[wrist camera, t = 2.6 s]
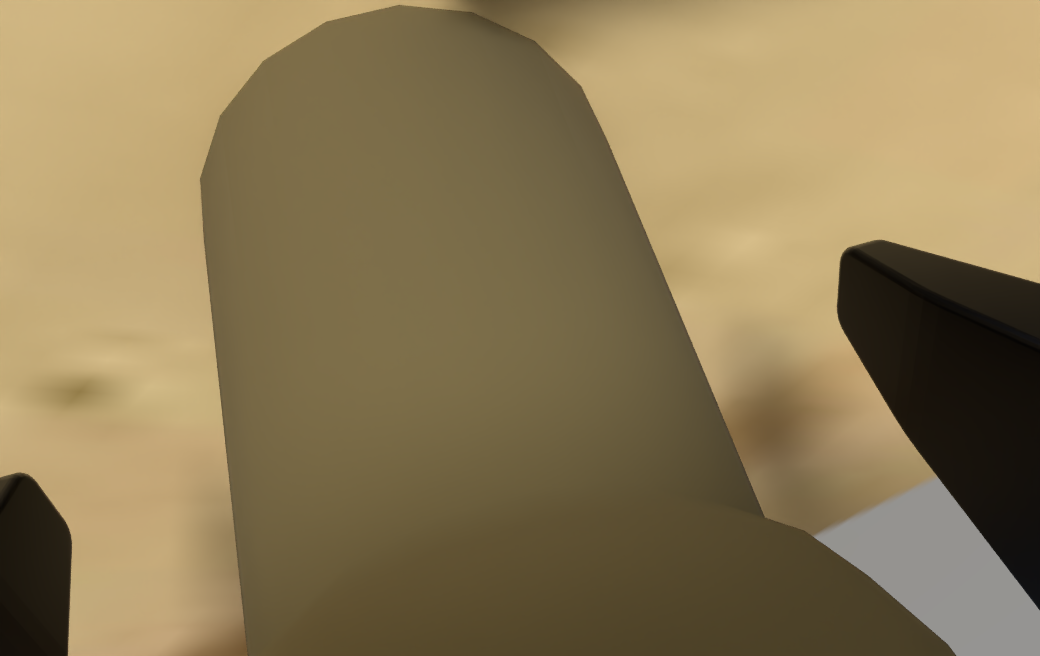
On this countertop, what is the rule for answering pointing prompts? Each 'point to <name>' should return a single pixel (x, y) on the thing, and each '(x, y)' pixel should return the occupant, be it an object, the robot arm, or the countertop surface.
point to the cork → (478, 378)
